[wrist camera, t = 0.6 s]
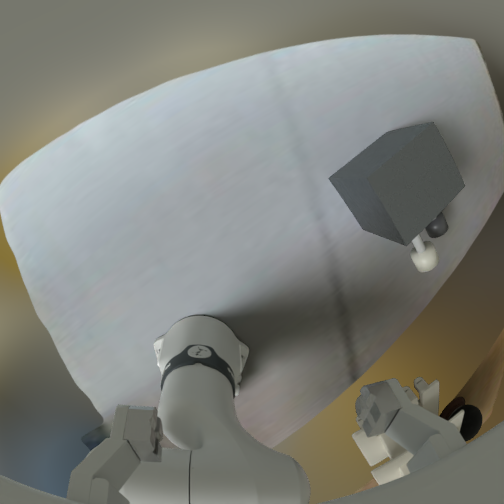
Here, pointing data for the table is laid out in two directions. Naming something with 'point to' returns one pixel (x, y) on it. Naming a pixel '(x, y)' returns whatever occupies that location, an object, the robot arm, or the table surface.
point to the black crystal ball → (464, 417)
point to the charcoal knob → (437, 226)
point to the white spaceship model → (386, 447)
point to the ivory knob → (424, 254)
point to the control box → (400, 182)
